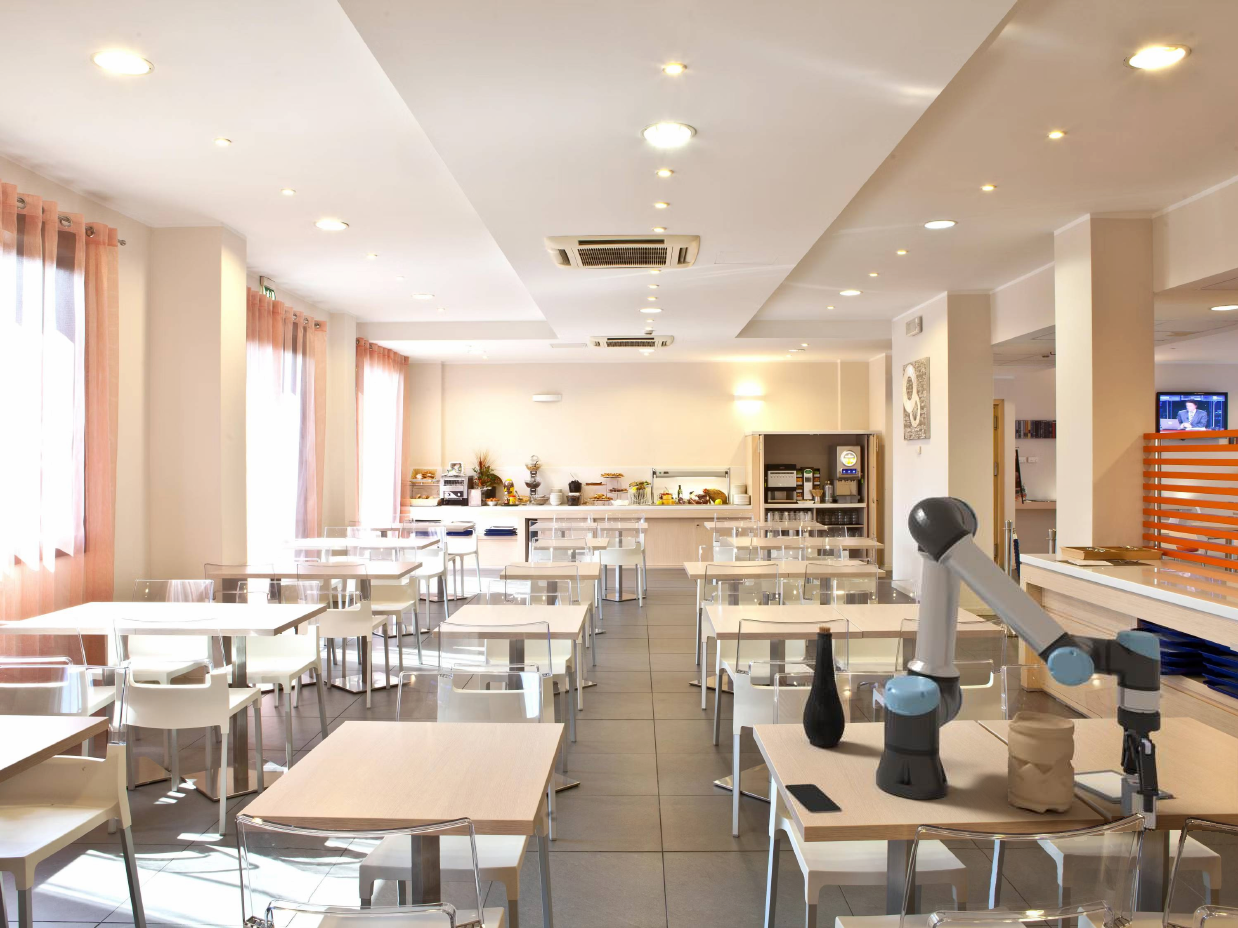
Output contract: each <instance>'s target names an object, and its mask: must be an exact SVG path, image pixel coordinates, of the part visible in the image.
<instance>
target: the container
mask: <svg viewBox="0 0 1238 928" xmlns="http://www.w3.org/2000/svg"><path fill="white" fill-rule="evenodd" d="M1007 727H1008V728H1009V730H1007V752H1008V758H1007V788H1008V790H1007V799H1008V803H1009V804H1011V806H1014V807H1015V808H1016V809H1017V808H1021V809H1028V810H1032V811H1034V812H1037V813H1041V814H1043V813H1045V811H1046V810H1051V811H1054V812H1057V813H1062V812H1066V811H1068V810H1069V809H1070V808H1071V807H1072V805H1073V804H1074V799H1075V786H1074V773H1075V767H1073V765H1072V763H1071V761H1073V759H1074V754H1075V739H1074V734H1075V722H1073V721H1072V720H1071V719H1069V718H1067V717H1064V716H1060V715H1056V714H1053V713H1052V714H1051V713H1047V712H1045V713H1043V712H1037V711H1026V710H1025V711H1017V713H1015V715H1014V716H1013V718H1012V720H1010V721H1009V722H1008V726H1007Z"/></svg>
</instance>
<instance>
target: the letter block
mask: <svg viewBox="0 0 1238 928" xmlns="http://www.w3.org/2000/svg"><path fill="white" fill-rule="evenodd" d="M1147 789H1151V788H1147ZM1137 790H1139V791H1140V786H1139V779H1130V778H1122V777H1121V803H1120V806H1121V813H1122V814H1123V816H1124V817H1125V816H1130V815H1132V814H1135V813H1138V794H1136V791H1137ZM1155 825H1157V799H1156V796H1155Z"/></svg>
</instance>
